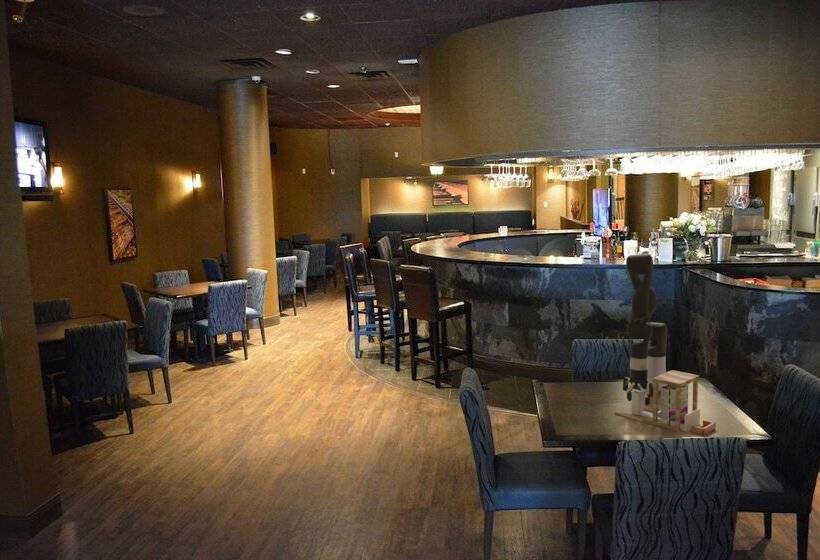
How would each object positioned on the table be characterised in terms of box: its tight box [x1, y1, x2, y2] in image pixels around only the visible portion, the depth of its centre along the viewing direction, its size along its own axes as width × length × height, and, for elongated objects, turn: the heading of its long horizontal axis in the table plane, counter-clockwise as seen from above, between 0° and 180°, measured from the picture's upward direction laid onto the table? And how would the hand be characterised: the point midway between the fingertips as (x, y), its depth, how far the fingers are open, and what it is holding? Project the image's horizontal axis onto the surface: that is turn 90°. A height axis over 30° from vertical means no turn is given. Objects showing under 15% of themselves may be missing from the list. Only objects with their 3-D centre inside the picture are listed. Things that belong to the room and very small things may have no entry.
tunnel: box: [614, 369, 700, 432], centre depth 292 cm, size 16×30×20 cm, turn 40°
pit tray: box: [691, 419, 717, 437], centre depth 277 cm, size 10×5×3 cm, turn 130°
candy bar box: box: [660, 384, 689, 425], centre depth 285 cm, size 11×5×16 cm, turn 118°
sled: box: [631, 390, 701, 433], centre depth 290 cm, size 11×27×10 cm, turn 40°
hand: (638, 402), depth 298 cm, fingers open, 8 cm apart
